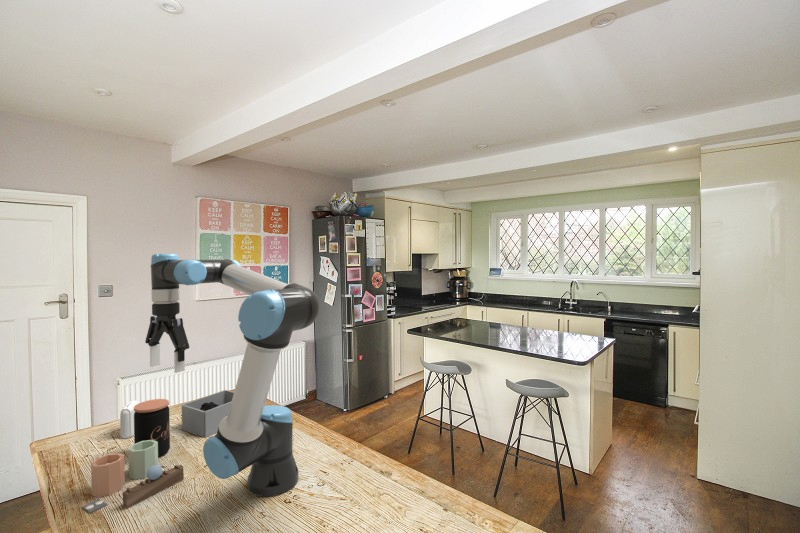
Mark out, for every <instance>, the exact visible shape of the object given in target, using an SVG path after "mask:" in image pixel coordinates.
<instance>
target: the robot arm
mask: <svg viewBox="0 0 800 533" xmlns="http://www.w3.org/2000/svg"><path fill="white" fill-rule="evenodd" d="M179 258H180V257H179V255H178V254H177V253H153V254H152V255H151V259H150V261H151V263H150V274H151V277H150V278H151V281H150V283H151V302H152V304H151V314H152V315H151V316H150V318H149V319H150V320H149V326H148V330H147V333H146V337H145V340H144V341H145V342H144V343H145V344H148V346H149V364H150V365H149V367H151V368H153V367H156V366H157V367H158V366H160V365H161V345H160V341H161V339H162V337H163V335H164V333H166V334H167V335H168V336H169V339H170V340H171V343H172V345H173V346H174V351H173V354H174V355H173V356H174V357H173V358H174V360H173V361H174V373H176V374H177V373H181V372H184V371H185V360H186V358H185V351H186V350H188V349H190V344H189V341H188V338H187V334H186V330H185V327H184V323H183V318H182V317H180V318H177V317H176V315H178V314H180V305H181V304H180V302H179V300H180V285H185V286H194V285H195V286H196V285H199V284H211V283H213V284H214V283H217V284H218V283H220V284H222V285H225V286H226V287H230V288H232V289H234V290H235V291H236V290H237V291H238V292H241V293H243V294H245V295H248V296H247V297H246V298H245V299H244V300H243V302H242V303H241V305H240V307H239V310H238V315H237V316H238V318H237V320H238V322H240V323H239V325H238V326H239V329H240V331H241V333H242V334H243V340H244V341H246V343H247V344H246V349H245V351H244V355H243V359H242V363H241V366H240V371H239V374H238V377H237V381H236V385H235V388H234V391H233V392H234V395H233V398H232V402H231V406H230V409H229V413H228V416H226V417H224V418H223V419H222V420H221V422H220V424H219V427H218V431H217V433H215V434H214V435H210V436H209V437H208V439H207V438H206V440H205V441H204V444H203V448H202V453H203V457H204V458H203V459H204V461H205V463H206V465H207V468H208V469H209V471H210V473H212V475H214V476H215V477H217V478H218V479H221V480H227V479H229V478H232V477H233V476H236V475H238V474H239V473H241V472H242V471H244V470H245V469H247V468H249V467H250V466H251V468H250V472H249V474H248V475H247V476H248V477H247V481H246V482H247V490H248V492H249V493H250V494H252V495H254V496H258V497H271V496H272V497H273V496H279V495H280V494H284V493H286V492H288V491H290V490H291V489H292V488H294V487H295V486H296V485H297V483H298V482H299V477H300V475H299V468H298V465H297V462H296V460H295V457H294V454H293V422H294V420H293V415H292V414H293V412H292V410H291V409H290V408H289V407H287V406H283V405H273V404H271V405H266V402H267V399H268V395H269V392H270V388H271V385H272V381H273V378H274V375H275V371H276V368H277V365H278V361H279V358H280V356H281V351H282V350H284V349H286V348H287V347H289V344H290V342H291V338H292V334H293V332H294V331H299V330H303V329H306V328H308V327H309V326H311V325H312V324H314V322H315V321H316V320H317V318H319V314H320V311H321V310H320V309H321V304H320V299H319V298H318V295H317V294H316V293H315V292H314V290H312V289H311V288H309V287H306V286H304V285H301V284H298V283H297V282H296V283H295V282H290V283H285V282H284V281H281V280H278V279H276V278H272V277H270V276H267V275H265V274H262V273H259V272H256V271H254V270H251V269H250V268H249V269H248V268H246V267H243V266H242V264H241V263H240V262H239V261H237V260H235V259H230V258H229V259H228V258H224V259H179Z"/></svg>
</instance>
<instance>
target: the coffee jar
mask: <svg viewBox="0 0 800 533" xmlns="http://www.w3.org/2000/svg"><path fill="white" fill-rule="evenodd" d="M169 405H170V400H168V399H165V398H155V399H148V400H144V401H142V402H140V403H139V404H137V405H135V406H134V411H135V413H134V435H133V436H134V439H133V440H134V442H133V444H136V443H138V442H141V441H146V440H155V441H157V442H158V459H161V457H163V456H165V455H167V454H168V452H169V451H170V449H171V433H170V432H171V430H170V429H171V427H170V407H169Z"/></svg>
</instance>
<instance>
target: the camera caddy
mask: <svg viewBox="0 0 800 533" xmlns="http://www.w3.org/2000/svg"><path fill="white" fill-rule="evenodd" d="M233 395H234V391H231V390H228V389H224V390H223V389H222V390H221V391H217V392H214V393H212V394H210V395H206V396H203V397H200V398H197V399H195V400H191V401H188V402H186V403H183V404H181V430H182V431H185V432H188V433H191V434H194V435H195V436H198V437H201V438H209V437H211V436H214V435H216V434H217V431H218V427H219V424H220V422H221V420H222V419H223V418H224V417H226V416H228V413H229V409H230V406H231V402H232V398H233ZM210 402H213V403H214V404H216V405H217V404H218V405H219V406H217V407H215V408H213V409H210V410H207V411H202V410H200V408H201V406H202V404H204V403H208V404H209V403H210Z"/></svg>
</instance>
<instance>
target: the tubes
mask: <svg viewBox="0 0 800 533" xmlns="http://www.w3.org/2000/svg"><path fill="white" fill-rule="evenodd" d="M127 450H128V454H127V455H128V478H130V479H132V480H133V481H135V480H143V479H144V480H145V479H148V478H147V471H148V469H149V468H150V467H151V466H153V465H159V458H158V442H157V441H155V440H146V441H141V442H138V443H136V444H134V443H133V444H132V445H131V446H130V447H129V448H127ZM107 463H109V464H107ZM90 478H91V480H90V481H91V484H90V485H91V495H92V496H94V497H96V498H97V499H94V500H91V501H90V502H88V503H86V504H84V505H82V506H81V508H82V509H83V510H84V511H86V512H87V511H88V513H89V514H92V513H94V512H96V511H98V510H101V509H103V508H104V507H107V506H108V503H106V502H105V501H104V500H102V499H100V497H107V496H111V495H113V494H115V493H117V492H118V491H121V490H122V488H123V487H125V484H126V481H125V479H126V478H125V455H124V454H123V453H120V452H116V453H109V454H105V455H102V456H99V457H97V458H95V459H94V460H93V461H92V462H91V464H90Z"/></svg>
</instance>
